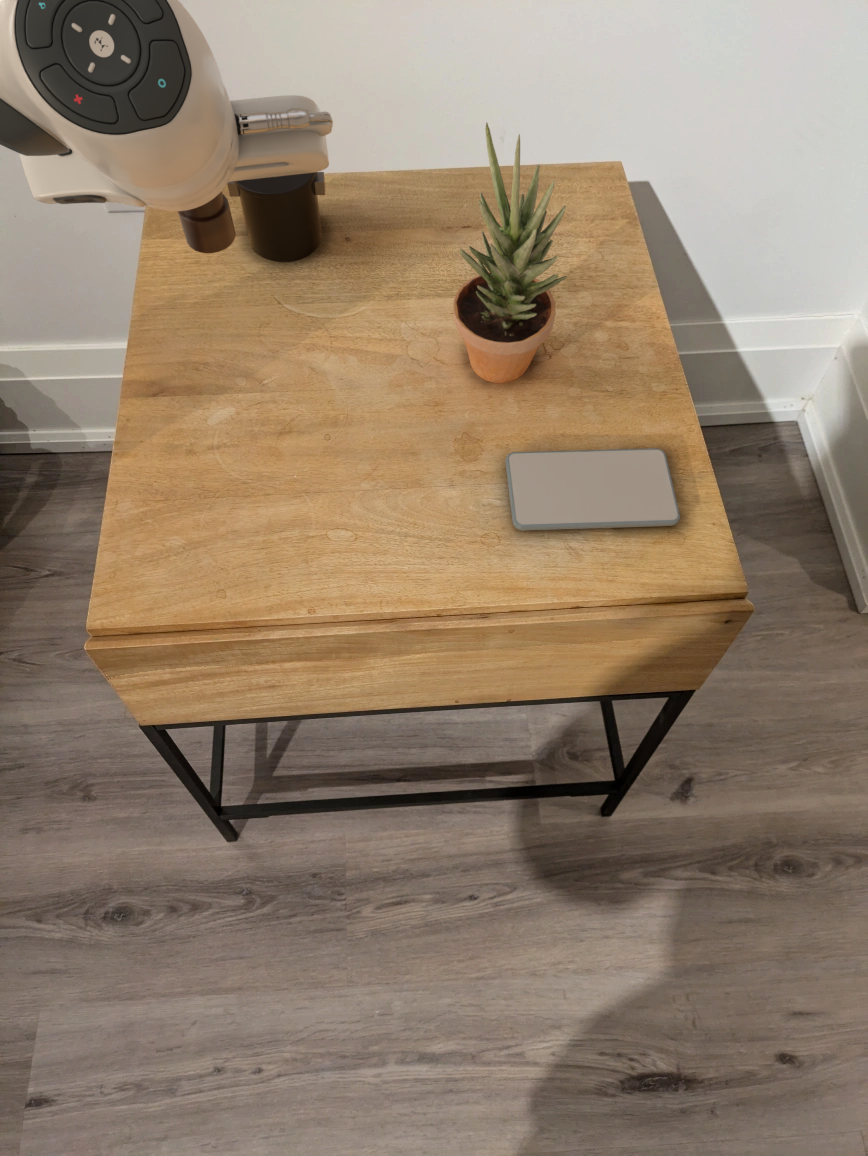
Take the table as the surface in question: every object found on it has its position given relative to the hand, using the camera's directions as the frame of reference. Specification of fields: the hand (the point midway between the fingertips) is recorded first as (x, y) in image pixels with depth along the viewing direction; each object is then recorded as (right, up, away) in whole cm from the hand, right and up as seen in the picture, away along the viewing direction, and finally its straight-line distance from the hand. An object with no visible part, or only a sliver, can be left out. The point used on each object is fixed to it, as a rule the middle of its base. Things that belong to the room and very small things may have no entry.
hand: (194, 172), depth 65 cm
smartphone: (+33, -23, +12) cm, 42 cm away
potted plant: (+25, -10, +20) cm, 33 cm away
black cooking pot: (+2, +6, +28) cm, 29 cm away
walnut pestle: (0, -3, +4) cm, 5 cm away
